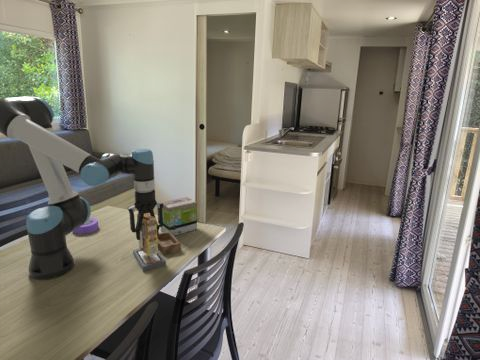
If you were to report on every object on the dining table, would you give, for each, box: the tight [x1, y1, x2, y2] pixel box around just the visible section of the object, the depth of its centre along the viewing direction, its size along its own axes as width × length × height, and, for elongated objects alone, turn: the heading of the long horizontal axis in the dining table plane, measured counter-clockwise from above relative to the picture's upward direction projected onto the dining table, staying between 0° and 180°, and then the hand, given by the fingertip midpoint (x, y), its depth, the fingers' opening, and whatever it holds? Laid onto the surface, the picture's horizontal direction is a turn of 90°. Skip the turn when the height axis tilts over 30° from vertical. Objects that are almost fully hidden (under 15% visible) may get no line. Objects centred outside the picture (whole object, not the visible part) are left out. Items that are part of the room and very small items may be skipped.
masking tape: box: [71, 217, 99, 235], centre depth 161 cm, size 12×12×4 cm
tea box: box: [160, 196, 198, 237], centre depth 161 cm, size 15×10×15 cm, turn 129°
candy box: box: [136, 213, 159, 256], centre depth 132 cm, size 9×4×15 cm, turn 43°
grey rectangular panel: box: [138, 251, 160, 264], centre depth 135 cm, size 6×11×1 cm, turn 31°
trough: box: [157, 231, 182, 256], centre depth 146 cm, size 8×14×4 cm, turn 31°
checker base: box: [132, 248, 167, 272], centre depth 135 cm, size 9×15×3 cm, turn 31°
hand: (148, 244), depth 133 cm, fingers closed on candy box, 5 cm apart
